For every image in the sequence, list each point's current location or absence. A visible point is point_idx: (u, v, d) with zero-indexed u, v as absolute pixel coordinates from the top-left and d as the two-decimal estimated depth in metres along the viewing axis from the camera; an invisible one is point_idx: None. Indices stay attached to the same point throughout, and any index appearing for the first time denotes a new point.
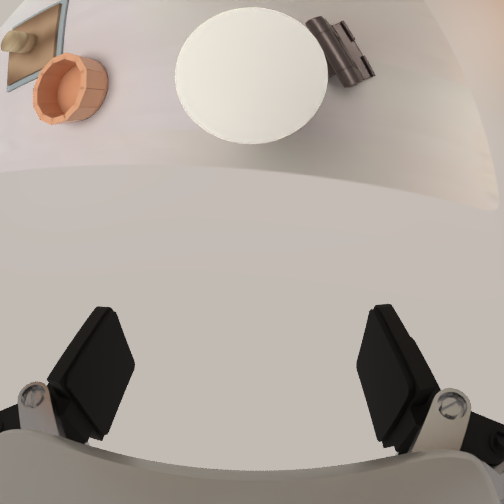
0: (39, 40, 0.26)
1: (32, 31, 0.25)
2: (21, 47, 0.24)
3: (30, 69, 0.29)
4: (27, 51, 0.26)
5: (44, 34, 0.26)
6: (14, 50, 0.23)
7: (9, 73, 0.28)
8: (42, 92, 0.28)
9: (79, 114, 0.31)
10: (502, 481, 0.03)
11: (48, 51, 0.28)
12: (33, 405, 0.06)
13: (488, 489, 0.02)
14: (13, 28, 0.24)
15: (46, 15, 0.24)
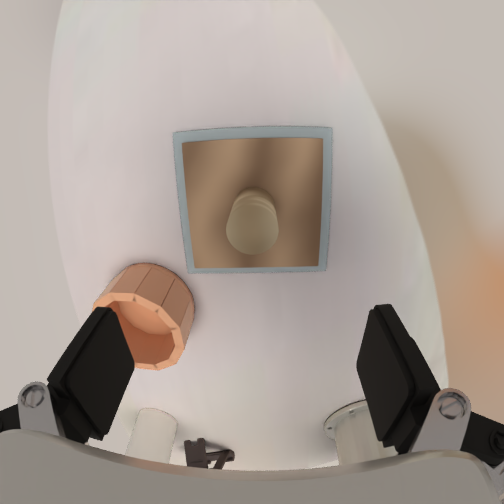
0: None
1: (283, 208, 0.25)
2: None
3: (197, 213, 0.26)
4: None
5: None
6: None
7: (207, 146, 0.23)
8: None
9: None
10: (502, 481, 0.03)
11: (219, 257, 0.28)
12: (33, 405, 0.06)
13: (488, 489, 0.02)
14: (328, 131, 0.23)
15: (304, 241, 0.27)
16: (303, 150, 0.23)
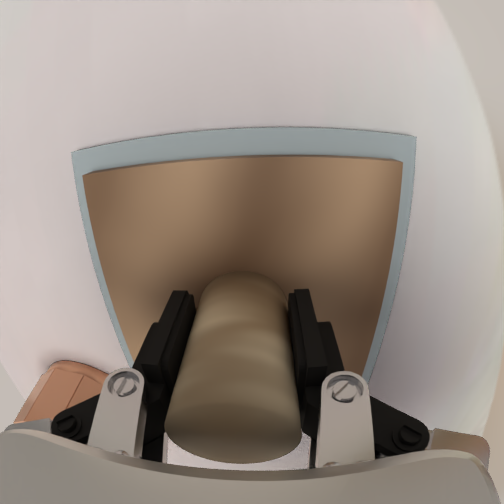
0: None
1: None
2: None
3: (131, 315, 0.12)
4: None
5: None
6: None
7: (132, 181, 0.10)
8: None
9: None
10: None
11: None
12: (120, 391, 0.07)
13: (488, 489, 0.02)
14: (408, 143, 0.09)
15: None
16: (359, 188, 0.10)
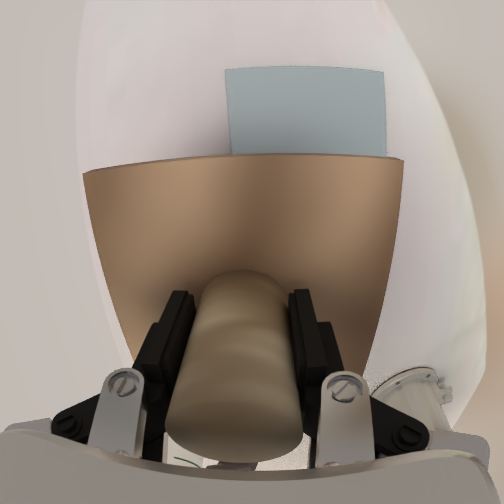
0: None
1: None
2: None
3: (132, 314, 0.12)
4: None
5: None
6: None
7: (133, 180, 0.10)
8: None
9: None
10: None
11: None
12: (120, 391, 0.07)
13: (488, 489, 0.02)
14: (380, 74, 0.20)
15: None
16: (360, 187, 0.10)
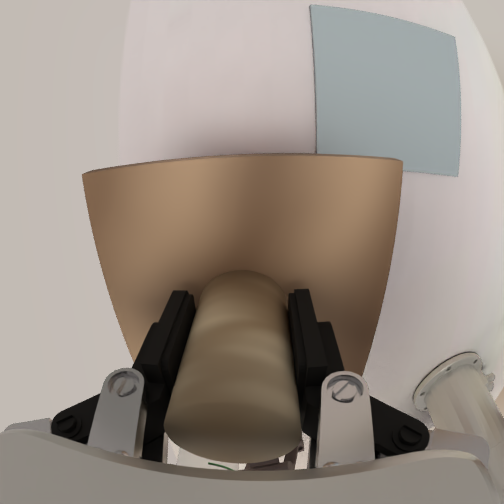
0: None
1: None
2: None
3: (131, 314, 0.12)
4: None
5: None
6: None
7: (132, 180, 0.10)
8: None
9: None
10: None
11: None
12: (120, 391, 0.07)
13: (488, 489, 0.02)
14: (452, 38, 0.15)
15: None
16: (359, 187, 0.10)
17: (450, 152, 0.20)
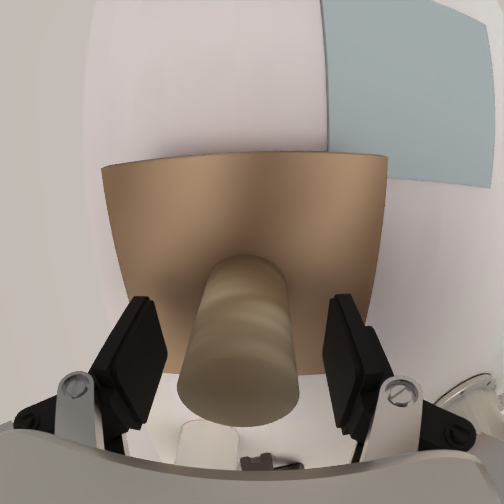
0: None
1: (302, 291, 0.13)
2: None
3: None
4: None
5: None
6: None
7: (148, 174, 0.11)
8: None
9: None
10: None
11: None
12: (74, 394, 0.06)
13: (488, 489, 0.02)
14: (483, 26, 0.11)
15: None
16: (348, 180, 0.11)
17: (483, 159, 0.16)
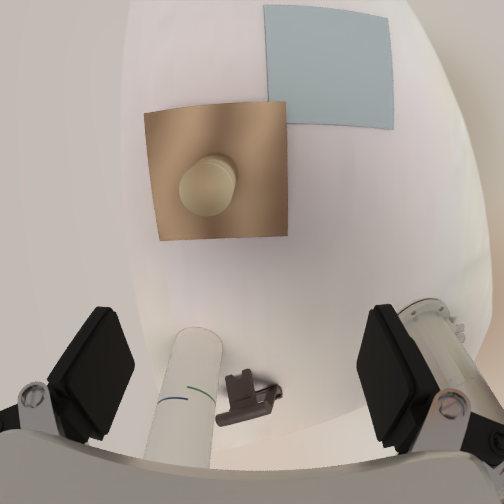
0: None
1: (246, 174, 0.24)
2: None
3: (160, 183, 0.24)
4: None
5: (224, 211, 0.26)
6: None
7: (168, 115, 0.22)
8: None
9: None
10: (502, 481, 0.03)
11: (183, 228, 0.26)
12: (33, 405, 0.06)
13: (488, 489, 0.02)
14: (385, 20, 0.22)
15: (271, 208, 0.25)
16: (265, 114, 0.22)
17: (384, 109, 0.27)
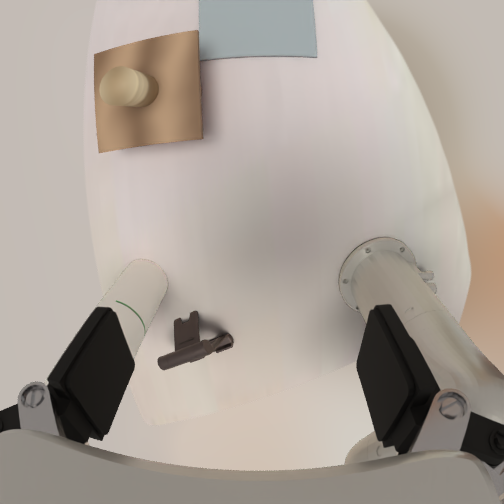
0: (141, 112, 0.26)
1: (165, 88, 0.25)
2: None
3: (101, 104, 0.25)
4: None
5: (148, 121, 0.26)
6: None
7: (111, 52, 0.23)
8: None
9: None
10: (502, 481, 0.03)
11: (117, 139, 0.27)
12: (33, 405, 0.06)
13: (488, 489, 0.02)
14: None
15: (186, 115, 0.26)
16: (181, 41, 0.23)
17: (306, 40, 0.27)
